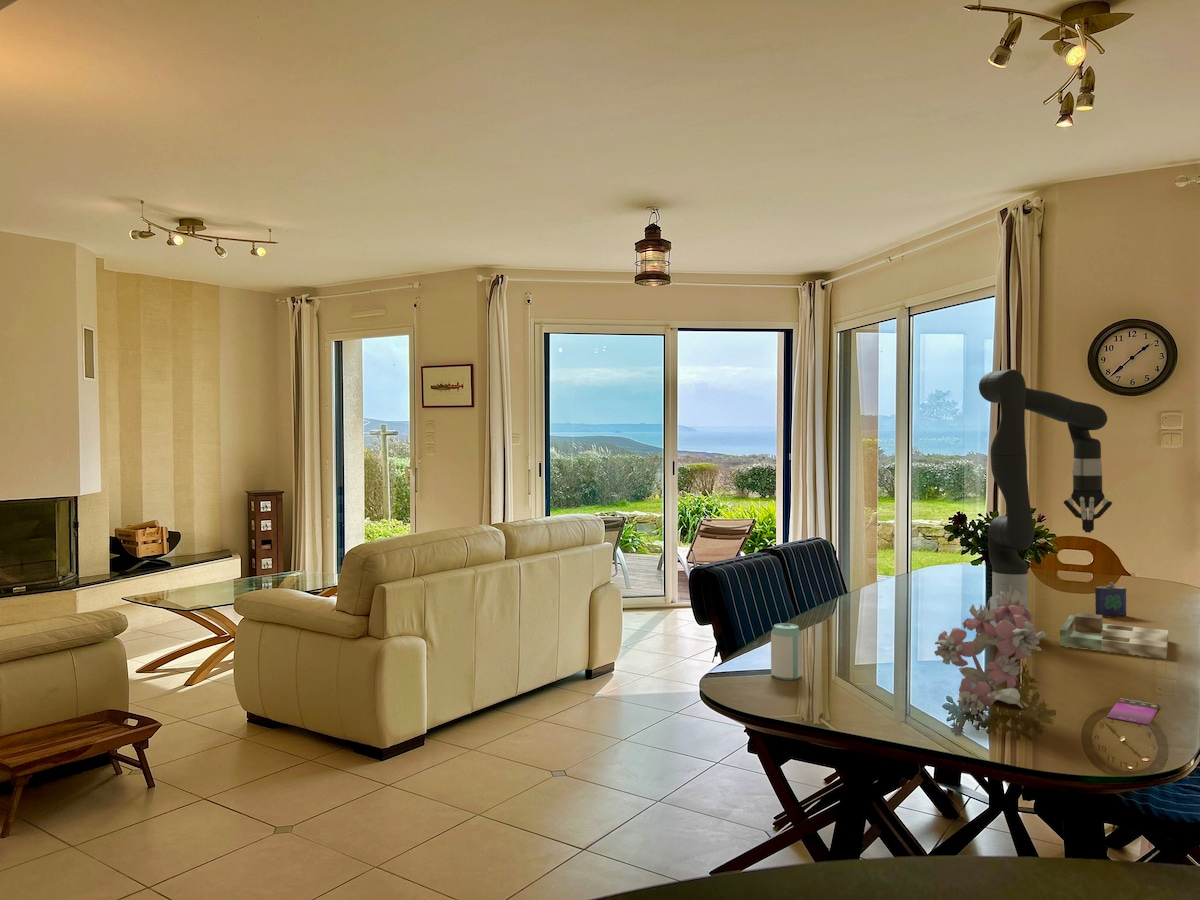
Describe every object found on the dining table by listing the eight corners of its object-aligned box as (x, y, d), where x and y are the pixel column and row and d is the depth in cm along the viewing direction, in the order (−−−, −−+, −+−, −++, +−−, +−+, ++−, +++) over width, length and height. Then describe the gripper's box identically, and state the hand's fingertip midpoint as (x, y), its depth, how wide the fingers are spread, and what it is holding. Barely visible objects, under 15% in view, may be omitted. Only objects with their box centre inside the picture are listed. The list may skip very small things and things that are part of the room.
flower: (906, 679, 188) (917, 589, 176) (1002, 667, 189) (1019, 576, 178) (949, 747, 170) (965, 651, 158) (1055, 733, 171) (1078, 636, 160)
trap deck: (1168, 641, 229) (1168, 624, 228) (1166, 659, 210) (1166, 641, 210) (1070, 630, 242) (1070, 615, 242) (1060, 646, 223) (1060, 629, 223)
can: (765, 674, 198) (765, 623, 198) (790, 671, 201) (790, 621, 201) (781, 682, 192) (781, 630, 192) (807, 678, 194) (807, 627, 194)
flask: (1123, 615, 263) (1123, 581, 263) (1129, 617, 260) (1129, 582, 260) (1093, 615, 264) (1093, 581, 264) (1098, 617, 261) (1098, 582, 261)
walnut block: (1102, 629, 230) (1102, 615, 230) (1100, 633, 225) (1100, 618, 225) (1077, 626, 233) (1077, 612, 233) (1075, 630, 228) (1075, 616, 228)
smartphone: (1160, 708, 173) (1160, 704, 173) (1148, 727, 161) (1148, 722, 161) (1119, 701, 177) (1119, 697, 177) (1105, 719, 166) (1105, 715, 166)
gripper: (1114, 473, 247) (1115, 532, 247) (1064, 473, 255) (1064, 530, 255) (1112, 474, 241) (1112, 534, 241) (1060, 474, 248) (1060, 532, 249)
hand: (1088, 532), depth 248 cm, fingers closed
